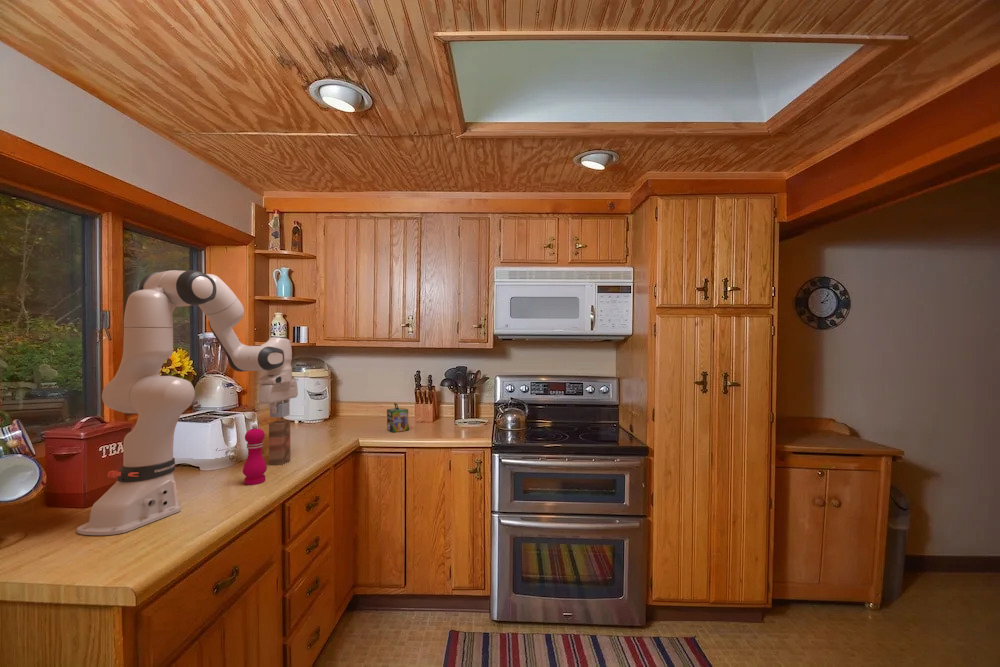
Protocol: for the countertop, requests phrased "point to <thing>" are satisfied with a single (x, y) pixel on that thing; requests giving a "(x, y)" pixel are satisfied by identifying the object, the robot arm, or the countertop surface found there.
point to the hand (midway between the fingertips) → (279, 412)
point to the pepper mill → (254, 457)
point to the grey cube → (281, 410)
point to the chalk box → (397, 419)
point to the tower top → (279, 429)
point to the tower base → (279, 457)
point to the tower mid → (279, 443)
